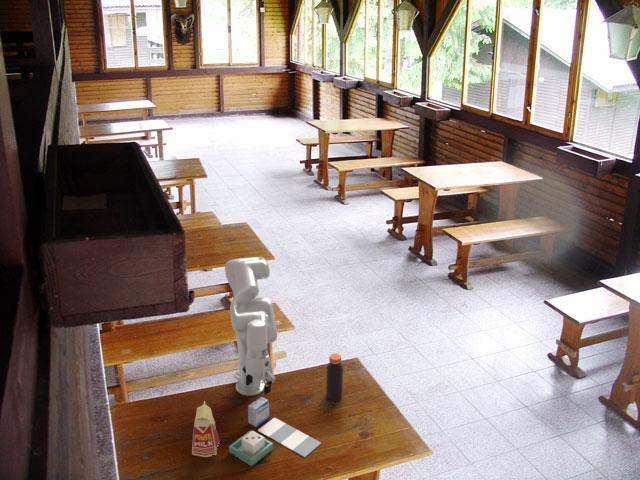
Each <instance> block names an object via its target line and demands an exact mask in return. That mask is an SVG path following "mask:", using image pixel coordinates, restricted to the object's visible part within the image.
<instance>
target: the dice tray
mask: <svg viewBox="0 0 640 480" xmlns="http://www.w3.org/2000/svg"><path fill="white" fill-rule="evenodd" d="M251 431H252V430H249V431H247V432H246V433H245V434H244V435H241V437H240V438H238V439H237V440H236V441H234V442H233V443H231V444H230V445H229V446H228V448H229V449H228V450H229V451H228V453H229V452H231V453H232V454H234V455H235V456H234V455H233V456H234V457H235V458H237V457H238V459H239V460H241V461H242V462H244V463H246V464H248V465H249V466H250V467H253V466H254V465H256V464H257V463H258V462H259V461H261V460H262V459H263V458H264V457H266V456H267V455H268V454H269V453H271V452H272V451H273V450H274V443H273V442H271V441H270V440H268V439H266V438H265V448H263V449H262V450H261V451H260V452H258V453H257V454H256V455H255V456H253V457H250V456H248V455H247V454H245V453H243V452H242V438H243V437H245V436H246V435H247V434H249V433H250V432H251ZM231 453H230V454H231ZM232 454H231V455H232Z"/></svg>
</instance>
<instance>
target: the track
mask: <svg viewBox="0 0 640 480" xmlns="http://www.w3.org/2000/svg"><path fill="white" fill-rule="evenodd" d="M257 431H258V432H259V433H261V434H263V435H264V436H266V437H268V438H269V439H271V440H273V441H274V442H277V443H278V444H280V445H281V446H284V447H285V448H287V449H289V450H291V451H293V452H294V453H295V454H297V455H299V456H301V457H302V458H306V457H308V456H309V455H310V454H311V453H312V452H313V451H315V450H316V449H318V447H319V446H320V445H322V442H321V441H319V440H317V439H315V438H313V437H311V436H310V435H308V434H306V433H304V432H302V431H300V430H299V429H296V428H295V427H293V426H291V425H289V424H288V423H286V422H284V421H282V420H280V419H278V417H273V418H272V419H270V420H269V421H268V422H267V423H265V424H263V425H262V426H261V427H260V428H258V430H257Z"/></svg>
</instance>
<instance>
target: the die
mask: <svg viewBox="0 0 640 480" xmlns="http://www.w3.org/2000/svg"><path fill="white" fill-rule="evenodd" d="M265 439H266V438H265V436H263V435H261V434H259V433H257V432H256V431H254V430H251V432H250V433H249V434H247V435H246V436H245V437H243V438H242V452H243V453H245V454H247V455H248V456H250V457H253V456H255V455H256V454H257V453H258V452H260V451H261V450H262V449H263V448H265Z"/></svg>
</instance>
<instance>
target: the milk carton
mask: <svg viewBox="0 0 640 480" xmlns="http://www.w3.org/2000/svg"><path fill="white" fill-rule="evenodd" d="M192 432H193V433H192V445H191V446H192V447H191V455H193V456H197V457H202V458H208V457H213V456H212V455H215V456H217V455H218V453H217V452H218V448H217V447H219V445H220V443H221V442H220V437H219V434H218V431H217V428H216V421H215V419H214V416H213V412H212V409H211V407H210V406H208V405H207V404H206V401H205V400H204V401H203V404H202V405H200V406H198V407H196V415H195V418H194V423H193V431H192ZM219 442H220V443H219ZM218 444H219V445H218Z"/></svg>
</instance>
